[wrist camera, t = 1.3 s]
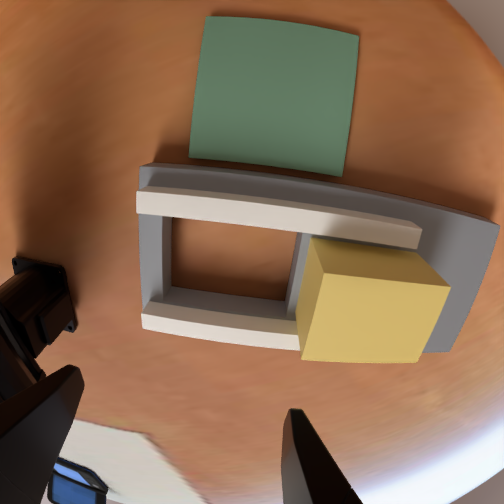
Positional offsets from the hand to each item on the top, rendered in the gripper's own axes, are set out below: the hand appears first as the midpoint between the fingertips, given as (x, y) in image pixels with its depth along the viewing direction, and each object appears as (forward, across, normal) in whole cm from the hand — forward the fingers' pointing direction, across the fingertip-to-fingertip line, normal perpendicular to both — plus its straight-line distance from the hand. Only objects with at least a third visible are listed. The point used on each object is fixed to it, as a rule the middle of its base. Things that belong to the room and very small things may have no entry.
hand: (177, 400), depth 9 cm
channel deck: (+12, -7, 0) cm, 14 cm away
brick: (+10, -8, 0) cm, 13 cm away
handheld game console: (+12, +29, +54) cm, 62 cm away
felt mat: (+12, -2, -11) cm, 16 cm away
